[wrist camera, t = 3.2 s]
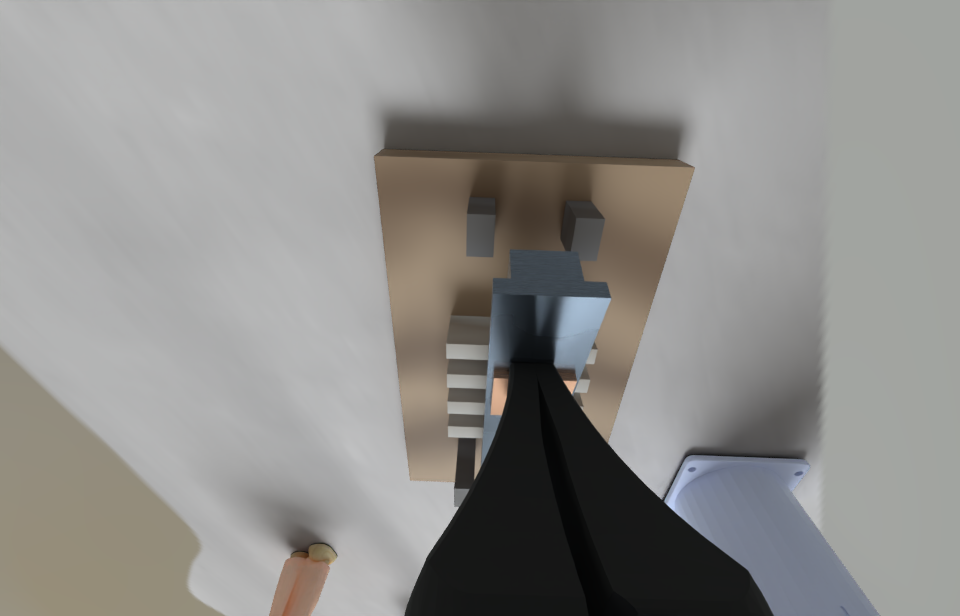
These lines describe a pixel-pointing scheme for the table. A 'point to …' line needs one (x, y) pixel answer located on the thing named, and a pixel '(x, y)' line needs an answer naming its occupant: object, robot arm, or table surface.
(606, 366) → the base
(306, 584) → the grandmother figurine
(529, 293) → the bar
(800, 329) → the table surface
